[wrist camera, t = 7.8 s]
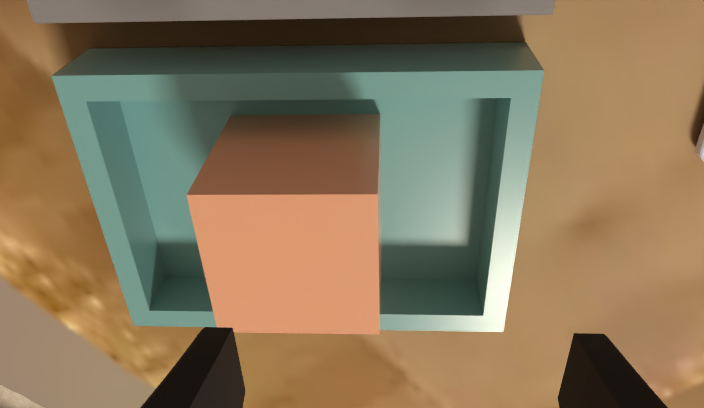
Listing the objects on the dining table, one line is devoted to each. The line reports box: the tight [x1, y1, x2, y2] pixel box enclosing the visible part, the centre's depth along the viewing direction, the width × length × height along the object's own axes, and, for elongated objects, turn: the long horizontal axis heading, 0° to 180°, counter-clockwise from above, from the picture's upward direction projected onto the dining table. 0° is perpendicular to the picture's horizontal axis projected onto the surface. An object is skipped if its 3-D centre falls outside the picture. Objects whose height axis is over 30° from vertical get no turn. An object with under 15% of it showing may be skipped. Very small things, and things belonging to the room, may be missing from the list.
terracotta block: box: [187, 114, 382, 334], centre depth 18 cm, size 5×5×5 cm
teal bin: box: [52, 42, 544, 332], centre depth 20 cm, size 14×10×2 cm
